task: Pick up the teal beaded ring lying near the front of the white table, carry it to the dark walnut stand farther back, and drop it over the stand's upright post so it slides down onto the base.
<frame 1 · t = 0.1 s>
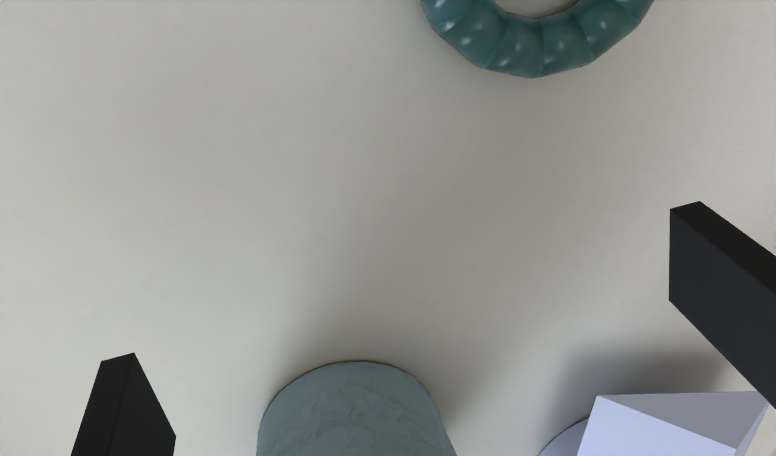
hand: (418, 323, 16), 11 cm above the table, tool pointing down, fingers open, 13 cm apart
blue-grey embossed cup: (352, 429, 32), on the table
wedge on round base: (612, 442, 36), on the table
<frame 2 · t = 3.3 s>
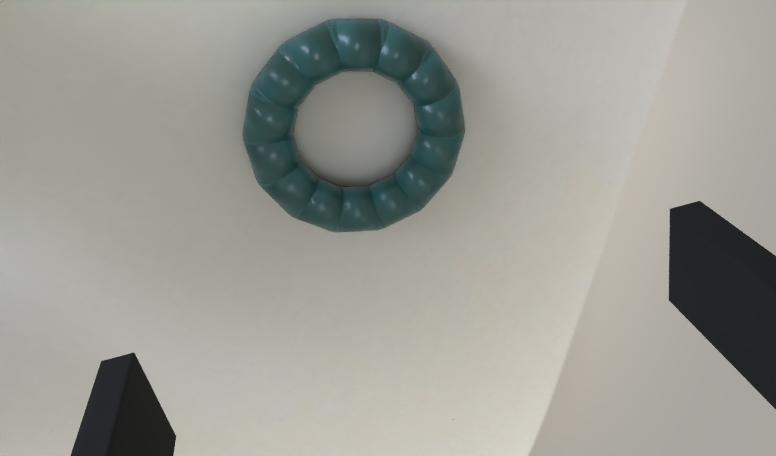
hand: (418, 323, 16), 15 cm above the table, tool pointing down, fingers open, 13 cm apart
teal beaded ring: (356, 132, 28), point 1 cm above the table
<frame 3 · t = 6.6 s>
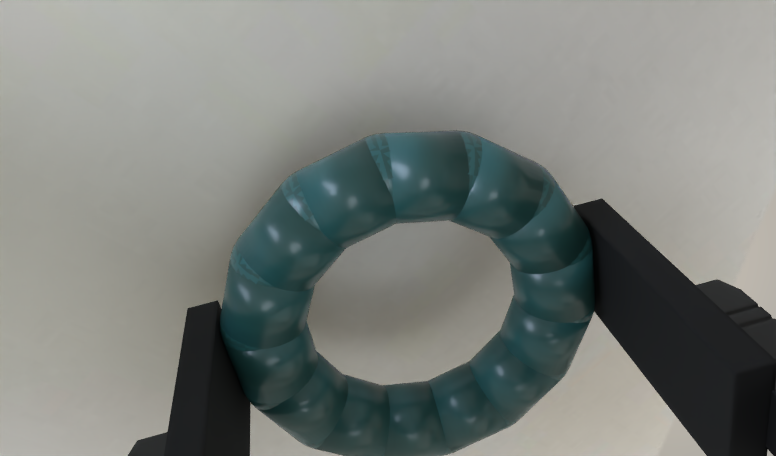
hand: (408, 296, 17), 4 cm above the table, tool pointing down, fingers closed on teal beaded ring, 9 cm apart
teal beaded ring: (414, 311, 16), point 5 cm above the table, touching gripper
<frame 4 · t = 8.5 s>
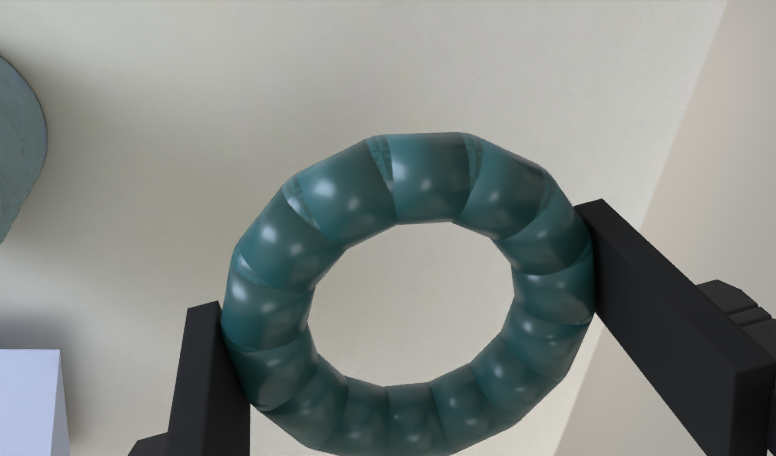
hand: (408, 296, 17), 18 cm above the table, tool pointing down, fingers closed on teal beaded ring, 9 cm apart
teal beaded ring: (414, 312, 16), point 18 cm above the table, touching gripper
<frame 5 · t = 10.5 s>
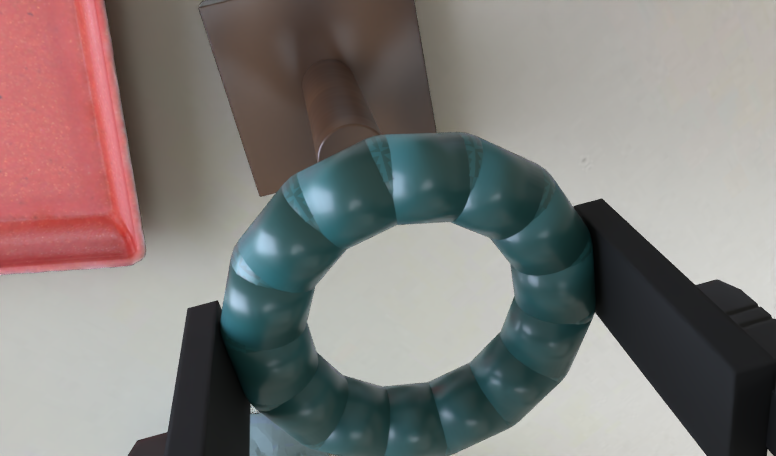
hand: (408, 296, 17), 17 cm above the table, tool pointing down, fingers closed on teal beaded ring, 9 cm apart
teal beaded ring: (414, 312, 16), point 18 cm above the table, touching gripper
stand: (325, 76, 31), on the table
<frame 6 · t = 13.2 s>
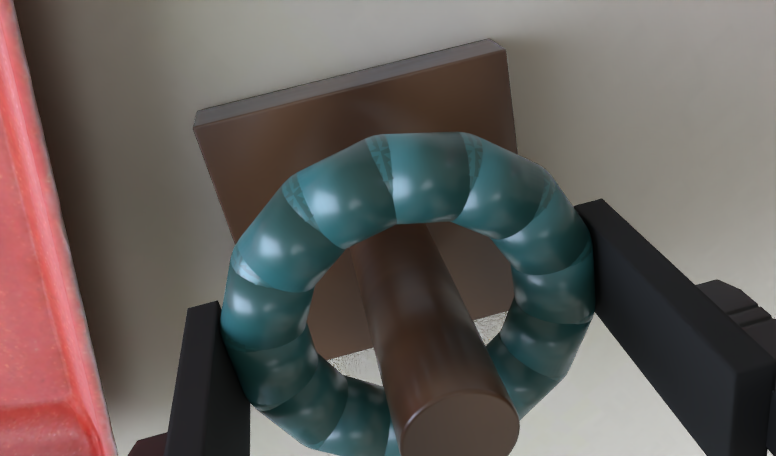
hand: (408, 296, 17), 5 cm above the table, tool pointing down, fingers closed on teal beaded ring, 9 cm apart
teal beaded ring: (414, 312, 16), point 6 cm above the table, touching gripper
stand: (376, 205, 22), on the table
when the fingers open (2 cm above the table, at t = 14.9 s): teal beaded ring stays where it is, resting on stand.
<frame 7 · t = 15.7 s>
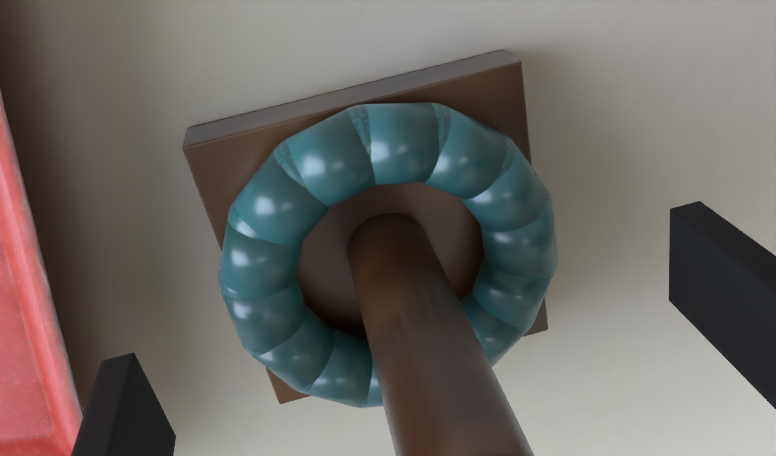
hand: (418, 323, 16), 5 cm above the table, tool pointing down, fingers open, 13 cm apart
teal beaded ring: (393, 267, 18), point 2 cm above the table, touching stand
stand: (380, 226, 21), on the table
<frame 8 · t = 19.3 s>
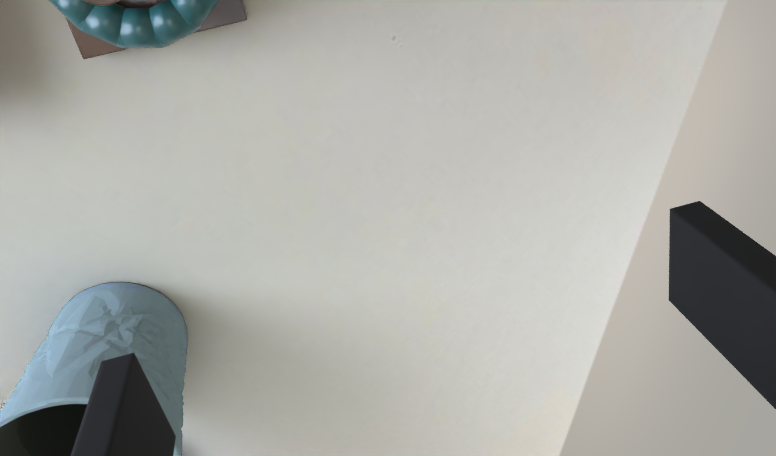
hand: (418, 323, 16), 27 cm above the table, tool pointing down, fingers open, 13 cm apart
blue-grey embossed cup: (121, 334, 46), on the table
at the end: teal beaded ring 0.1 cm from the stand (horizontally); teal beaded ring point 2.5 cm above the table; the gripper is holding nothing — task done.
